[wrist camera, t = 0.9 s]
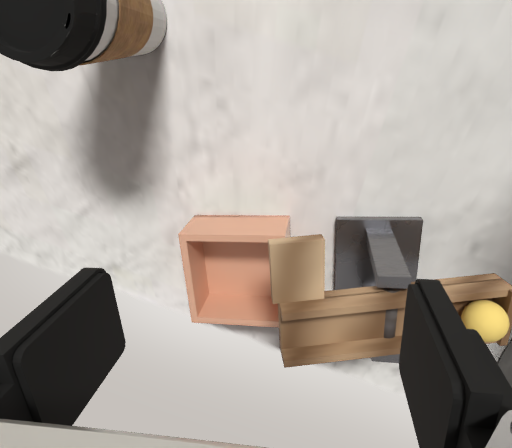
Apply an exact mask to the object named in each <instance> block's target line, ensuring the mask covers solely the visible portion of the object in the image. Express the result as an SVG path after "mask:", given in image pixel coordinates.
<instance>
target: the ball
mask: <svg viewBox="0 0 512 448" xmlns="http://www.w3.org/2000/svg"><path fill="white" fill-rule="evenodd" d="M461 320H462V321H463V323H464V325H465V327H466V329H474V330H476V331H477V332H478V333H479V334H480V335H481V337H482V339H483V341H484V342H495V341H498V340H500V339H502V338H503V337H504V336H505V335H506V334H507V332H508V330H509V318H508V315H507V313H506V312H505V310H504V309H503V308H502V307H501V306H499V305H498V304H496V303H494V302H492V301H488V300H476V301H473V302H471V303H469V304H468V305H467V306H466V307H465V308H464V310H463V312H462V315H461Z"/></svg>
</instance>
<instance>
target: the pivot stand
mask: <svg viewBox="0 0 512 448" xmlns="http://www.w3.org/2000/svg"><path fill="white" fill-rule="evenodd" d="M422 225H423V219H422V218H421V217H337V218H336V264H335V290H341V289H351V288H360V287H370V286H377V288H402V289H408V285H409V284H411V282H415V281H416V276H417V268H418V259H419V251H420V242H421V233H422ZM399 357H400V354H395V355H387V356H378V357H371V359H372V361H378V362H392V363H399Z"/></svg>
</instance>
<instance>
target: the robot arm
mask: <svg viewBox="0 0 512 448" xmlns="http://www.w3.org/2000/svg"><path fill="white" fill-rule="evenodd" d="M124 348H125V338H124V333H123V329H122V325H121V320H120V316H119V311H118V307H117V302H116V298H115V294H114V289H113V285H112V280H111V277H110V275H109V274H108V273H106V271H105V270H104V269H102V268H83V269H82V270H80V271H79V272H78V273H77V274H76V275H75V276H73V277H72V278H71V279H70V280H69V281H68V282H66V283H65V284H64V285H63V286H62V287H60V288H59V289H58V290H57V291H56V292H54V293H53V294H52V295H51V296H50V297H48V298H47V299H46V300H45V301H44V302H43V303H41V304H40V305H39V306H38V307H37V308H36V309H34V310H33V311H32V312H31V313H29V314H28V315H27V316H26V317H25V318H24V319H23V320H21V321H20V322H19V323H18V324H16V325H15V326H14V327H13V328H12V329H11V330H9V331H8V332H7V333H6V334H5V335H3V336H2V337H1V338H0V448H265V447H257V446H249V445H240V444H231V443H223V442H214V441H205V440H196V439H187V438H178V437H170V436H160V435H152V434H143V433H133V432H124V431H115V430H105V429H97V428H87V427H77V426H72V425H73V424H74V422H75V421H76V419H77V418H78V416H79V415H80V414H81V412H82V411H83V409H84V408H85V406H86V405H87V403H88V402H89V401H90V399H91V398H92V396H93V395H94V393H95V392H96V391H97V389H98V388H99V386H100V385H101V383H102V382H103V380H104V379H105V378H106V376H107V375H108V373H109V372H110V370H111V369H112V367H113V366H114V365H115V363H116V362H117V360H118V359H119V357H120V356H121V354H122V353H123V351H124ZM399 369H400V375H401V378H402V382H403V386H404V390H405V394H406V398H407V401H408V405H409V409H410V412H411V417H412V420H413V424H414V428H415V432H416V436H417V440H418V443H419V447H420V448H512V387H511V386H510V384H509V382H508V381H507V379H506V377H505V376H504V374H503V372H502V371H501V369H500V367H499V366H498V364H497V362H496V361H495V359H494V357H493V356H492V354H491V352H490V351H489V349H488V347H487V346H486V344H485V342H484V341H483V339H482V337H481V335H480V334H479V333H478V332H477V331H476V330H474V329H466V327H465V325H464V323H463V321H462V320H461V318H460V316H459V314H458V312H457V311H456V309H455V307H454V305H453V304H452V302H451V300H450V298H449V296H448V295H447V293H446V291H445V289H444V288H443V286H442V284H441V282H440V281H439V280H429V279H417V280H416V281H415V284H409V285H408V289H407V297H406V306H405V314H404V323H403V331H402V340H401V348H400V357H399Z"/></svg>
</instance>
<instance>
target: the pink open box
mask: <svg viewBox="0 0 512 448" xmlns="http://www.w3.org/2000/svg"><path fill="white" fill-rule="evenodd" d="M178 235H179V242H180V248H181V255H182V261H183V268H184V274H185V281H186V287H187V294H188V300H189V307H190V313H191V320H192V322H194V323H211V324H229V325H246V326H264V327H279V319H278V304H273V302H272V298H271V284H270V266H269V248H268V239H278V238H288V237H290V216H245V215H195V216H194V217H193V218H192V219H191V220H190V222H189V223H188V224H187V225H186V226H185V227H184V228H183V230H182V231H181V232H180V233H179V234H178Z"/></svg>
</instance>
